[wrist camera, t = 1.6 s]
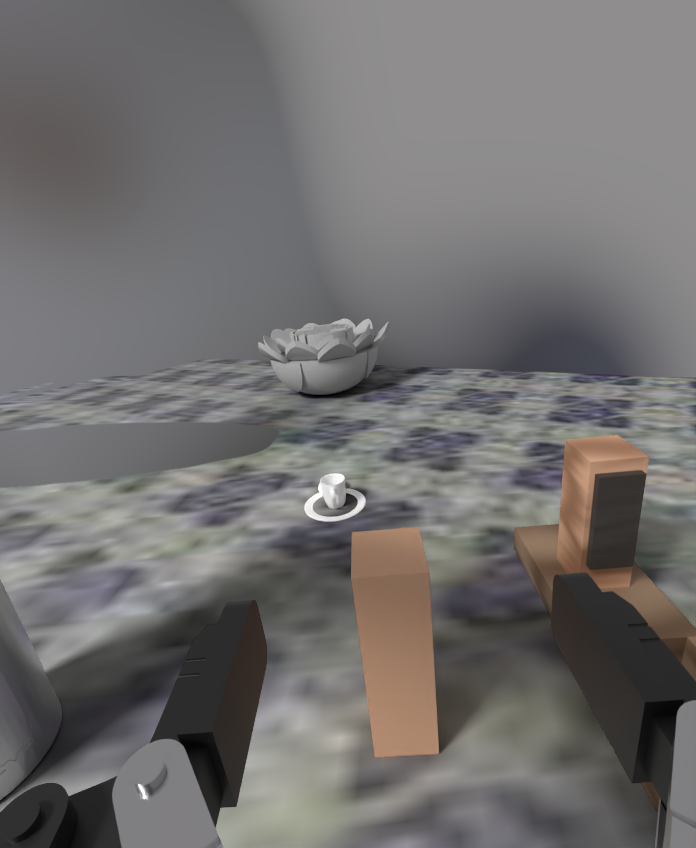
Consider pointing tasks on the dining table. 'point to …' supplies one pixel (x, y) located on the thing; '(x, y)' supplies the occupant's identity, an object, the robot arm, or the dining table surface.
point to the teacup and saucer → (334, 497)
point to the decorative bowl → (323, 355)
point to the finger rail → (604, 540)
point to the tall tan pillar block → (396, 639)
